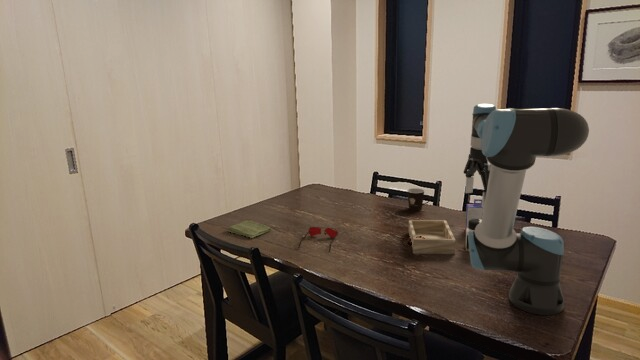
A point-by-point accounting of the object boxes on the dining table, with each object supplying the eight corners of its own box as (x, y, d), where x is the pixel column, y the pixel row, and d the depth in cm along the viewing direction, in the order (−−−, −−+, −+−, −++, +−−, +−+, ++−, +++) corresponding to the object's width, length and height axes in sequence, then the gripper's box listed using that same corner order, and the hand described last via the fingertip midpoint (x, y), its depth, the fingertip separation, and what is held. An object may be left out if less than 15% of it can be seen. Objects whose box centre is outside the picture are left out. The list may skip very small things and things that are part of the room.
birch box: (454, 254, 166) (455, 240, 165) (413, 253, 168) (413, 239, 167) (445, 232, 187) (445, 220, 186) (408, 232, 189) (408, 220, 188)
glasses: (339, 238, 187) (338, 227, 186) (329, 253, 172) (329, 242, 171) (308, 235, 191) (308, 225, 190) (297, 250, 176) (296, 239, 175)
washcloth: (252, 241, 188) (252, 234, 187) (226, 232, 198) (225, 226, 198) (273, 231, 198) (272, 225, 197) (247, 224, 208) (246, 218, 207)
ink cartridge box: (487, 229, 189) (489, 198, 185) (490, 234, 184) (492, 202, 180) (464, 228, 191) (466, 198, 187) (466, 233, 186) (467, 202, 182)
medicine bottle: (465, 251, 169) (467, 222, 166) (465, 244, 175) (466, 216, 172) (485, 252, 167) (487, 224, 163) (483, 245, 173) (485, 217, 170)
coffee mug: (403, 208, 222) (403, 189, 219) (417, 205, 225) (417, 187, 222) (417, 214, 211) (417, 195, 209) (431, 211, 215) (431, 192, 212)
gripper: (509, 156, 144) (503, 212, 152) (475, 136, 167) (471, 186, 175) (488, 158, 143) (483, 214, 151) (456, 138, 166) (453, 188, 174)
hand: (476, 199), depth 163 cm, fingers open, 13 cm apart
